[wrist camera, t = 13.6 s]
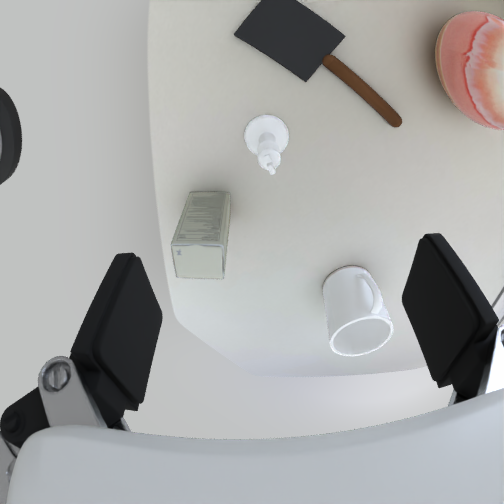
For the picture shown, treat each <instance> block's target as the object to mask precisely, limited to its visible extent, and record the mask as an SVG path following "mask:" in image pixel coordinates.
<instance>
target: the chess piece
mask: <svg viewBox="0 0 504 504" xmlns="http://www.w3.org/2000/svg"><path fill="white" fill-rule="evenodd" d="M244 138H245V142H246V145H247V147H248V148H249V150H250V151H251V152H253V153H254V154H256V155H258V163H259V165H260V166H261V167H262V168H263V169H266V170H268V171H270V174H275V173H276V171H275V168H277V167H278V166H279V164H280V162H281V157H280V153H281V152H282V151H283V150H284V149H285V148H286V146H287V144H288V140H289V131H288V128H287V126H286V125H285V123H284V122H283V121H282V120H281V119H279V118H278V117H275V116H272V115H261V116H258V117H256V118H254V119H253V120H251V121H250V122H249V124H248V125H247V127H246V129H245V133H244Z"/></svg>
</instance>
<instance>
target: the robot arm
mask: <svg viewBox="0 0 504 504" xmlns="http://www.w3.org/2000/svg"><path fill="white" fill-rule="evenodd" d="M1 153H2V137H1V131H0V159H1ZM402 303H403V306H404V308H405V311H406V313H407V315H408V318H409V320H410V322H411V325H412V327H413V330H414V332H415V335H416V337H417V340H418V342H419V345H420V347H421V350H422V352H423V355H424V358H425V360H426V363H427V366H428V369H429V371H430V374H431V377H432V379H433V380H434V381H436V382H437V385H438V388H441V387H445V386H448V385H451V384H452V385H453V388H454V390H453V393H452V396H451V399H450V402H449V405H448V407H445V408H442V409H438V410H435V411H432V412H428V413H425V414H421V415H418V416H414V417H410V418H407V419H403V420H398V421H394V422H390V423H386V424H381V425H376V426H371V427H366V428H360V429H354V430H349V431H342V432H336V433H328V434H320V435H311V436H301V437H291V438H290V437H289V438H275V439H274V438H273V439H199V438H184V437H172V436H161V435H152V434H144V433H135V432H131V430H130V429H129V427H128V425H127V423H126V421H125V420H124V418H123V415H124V411H125V410H133V411H138V406H139V403H140V404H141V403H142V402H143V401H144V397H145V392H146V387H147V382H148V378H149V374H150V368H151V365H152V360H153V356H154V352H155V348H156V343H157V340H158V335H159V332H160V327H161V324H162V311H161V309H160V306H159V304H158V301H157V299H156V297H155V294H154V292H153V289H152V287H151V285H150V282H149V279H148V277H147V274H146V272H145V269H144V267H143V264H142V261H141V259H140V258H139V257H136V255H135V254H134V253H122V254H117V255H116V256H115V258H114V260H113V261H112V263H111V265H110V267H109V269H108V271H107V273H106V275H105V277H104V279H103V281H102V283H101V285H100V287H99V289H98V291H97V293H96V295H95V297H94V300H93V301H92V303H91V305H90V308H89V310H88V312H87V314H86V316H85V318H84V321H83V323H82V325H81V328H80V330H79V332H78V335H77V337H76V339H75V342H74V344H73V346H72V349H71V355H70V357H69V358H68V357H64V356H57V357H54V358H52V359H50V360H49V361H48V362H46V364H45V365H44V366H43V367H42V369H41V371H40V373H39V377H38V387H37V388H36V389H34V390H33V391H31V392H30V393H28V394H27V395H25V396H24V397H22V398H21V399H19V400H18V401H16V402H15V403H14V404H12V405H10V406H9V407H8V408H7V409H6V410H5V411H4V413H3V415H2V417H1V420H0V429H1V431H0V504H504V324H503V325H501V326H500V327H499V328H498V327H497V325H496V324H497V323H498V321H499V319H498V317H497V316H496V314H495V312H494V310H493V309H492V307H491V305H490V304H489V302H488V300H487V299H486V297H485V296H484V294H483V292H482V291H481V289H480V288H479V286H478V285H477V283H476V282H475V280H474V279H473V277H472V276H471V274H470V273H469V271H468V270H467V268H466V267H465V265H464V264H463V263H462V261H461V260H460V258H459V257H458V256H457V254H456V253H455V251H454V250H453V249H452V247H451V246H450V245H449V243H448V242H447V241H446V239H445V238H444V237H443V236H442V235H441V234H440V233H434V234H425V235H424V236H423V238H422V239H420V240H419V243H418V247H417V250H416V254H415V257H414V260H413V264H412V267H411V270H410V273H409V276H408V279H407V282H406V285H405V288H404V291H403V294H402Z"/></svg>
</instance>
